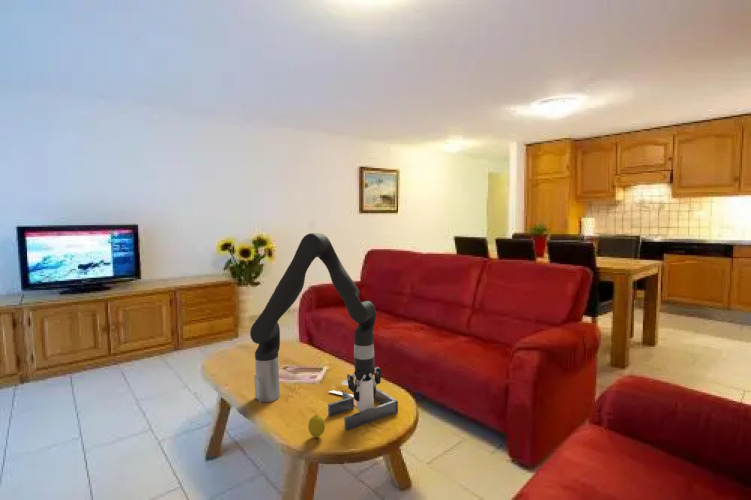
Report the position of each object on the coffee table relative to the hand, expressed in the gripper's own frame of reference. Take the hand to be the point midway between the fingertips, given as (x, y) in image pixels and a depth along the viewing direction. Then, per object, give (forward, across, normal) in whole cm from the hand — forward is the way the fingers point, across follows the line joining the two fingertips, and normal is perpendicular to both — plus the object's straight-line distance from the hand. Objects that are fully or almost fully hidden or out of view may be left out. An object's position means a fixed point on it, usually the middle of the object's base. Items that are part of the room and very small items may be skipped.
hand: (365, 397), depth 152 cm
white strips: (+7, +5, +21) cm, 23 cm away
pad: (+6, +4, +9) cm, 12 cm away
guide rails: (+6, -1, +2) cm, 7 cm away
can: (+4, 0, 0) cm, 4 cm away
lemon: (+6, -22, -4) cm, 23 cm away
